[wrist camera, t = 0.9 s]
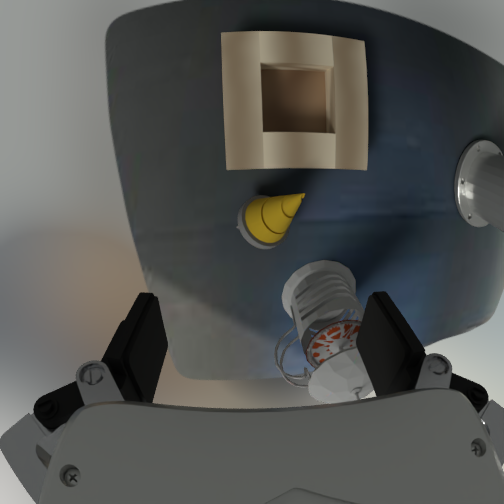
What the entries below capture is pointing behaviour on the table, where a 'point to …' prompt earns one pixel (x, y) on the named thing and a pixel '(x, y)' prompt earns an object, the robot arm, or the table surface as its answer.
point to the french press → (326, 331)
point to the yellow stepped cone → (267, 219)
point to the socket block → (294, 101)
